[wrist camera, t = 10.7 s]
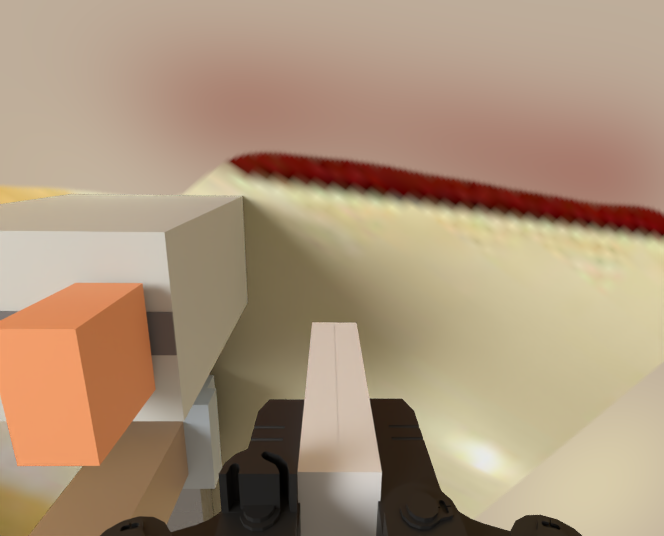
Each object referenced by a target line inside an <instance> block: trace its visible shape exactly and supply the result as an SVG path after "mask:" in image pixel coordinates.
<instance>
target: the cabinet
mask: <svg viewBox="0 0 664 536" xmlns="http://www.w3.org/2000/svg"><path fill="white" fill-rule="evenodd" d="M74 283H143V291H144V299H145V307H146V315H147V323H148V332H149V340H150V348H151V356H152V364H153V372H154V380H155V388H156V390H155V391H154V392H153V394H152V395H151V396H150V398H149V399H148V401H147V402H146V403H145V405H144V406H143V407H142V409H141V410H140V411H139V413H138V414H137V416H136V417H135V418H134V420H133V421H184V420H185V419H186V417H187V415H188V413H189V411H190V409H191V407H192V406H193V404H194V402H195V400H196V398H197V396H198V394H199V393H200V391H201V389H202V387H203V385H204V383H205V381H206V380H207V378H208V376H209V374H210V372H211V370H212V368H213V366H214V365H215V363H216V361H217V359H218V357H219V355H220V353H221V352H222V350H223V348H224V346H225V344H226V342H227V340H228V339H229V337H230V335H231V333H232V331H233V329H234V327H235V326H236V324H237V322H238V320H239V318H240V316H241V314H242V312H243V311H244V309H245V307H246V305H247V303H248V296H247V275H246V255H245V234H244V214H243V196H197V195H102V194H68V195H61V196H54V197H47V198H40V199H33V200H26V201H19V202H12V203H6V204H0V320H2V319H4V318H6V317H8V316H10V315H12V314H14V313H16V312H18V311H20V310H22V309H24V308H26V307H28V306H30V305H32V304H34V303H36V302H38V301H40V300H42V299H44V298H46V297H48V296H50V295H52V294H54V293H56V292H58V291H60V290H62V289H64V288H66V287H68V286H70V285H72V284H74ZM0 421H6V417H5V413H4V409H3V404H2V400H1V396H0Z"/></svg>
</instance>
